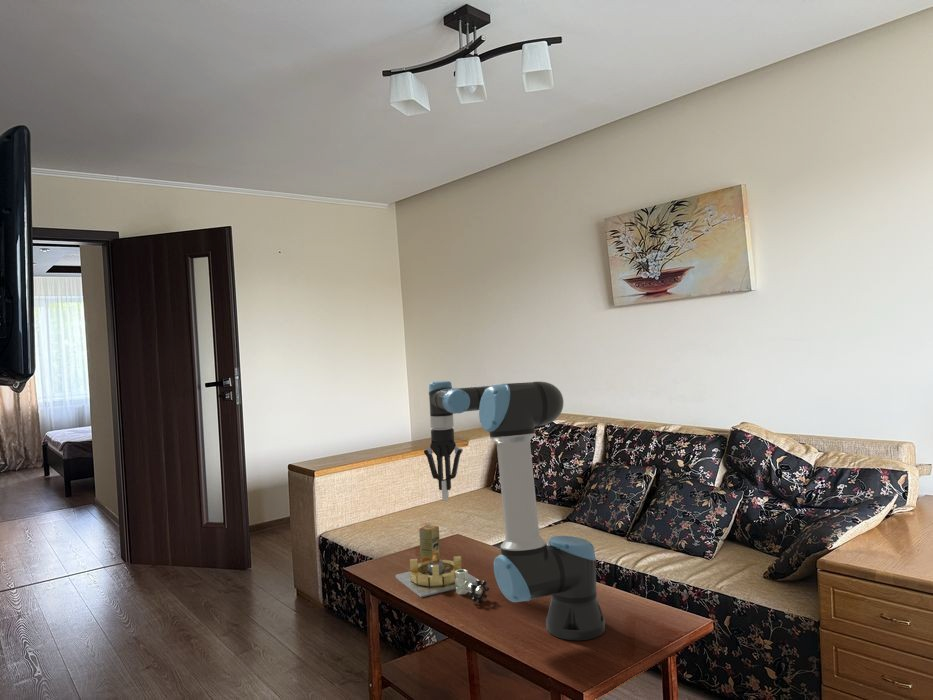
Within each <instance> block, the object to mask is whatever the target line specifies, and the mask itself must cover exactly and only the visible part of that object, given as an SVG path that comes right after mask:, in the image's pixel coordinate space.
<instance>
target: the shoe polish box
mask: <svg viewBox="0 0 933 700" xmlns="http://www.w3.org/2000/svg"><path fill="white" fill-rule="evenodd" d="M418 530H419V531H418V532H419V550H420V551H419V552H420V563H421V562H425V561H430V560H433V551H435V550H439V560H441V545H440V543H441V541H440V540H441V539H440V527H439V526H438V525H429V524H428V525H424V526H422V527H420V528H419V529H418Z"/></svg>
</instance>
